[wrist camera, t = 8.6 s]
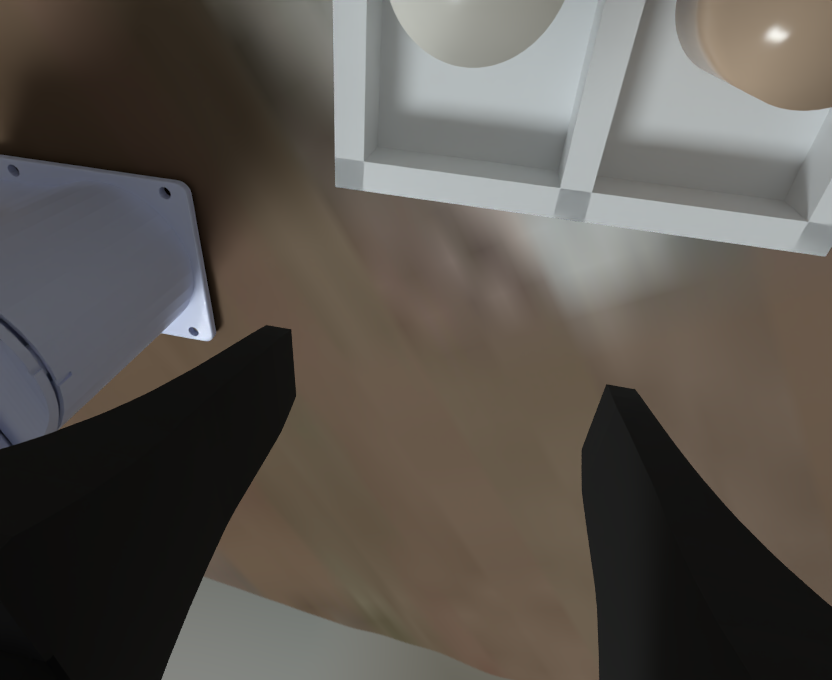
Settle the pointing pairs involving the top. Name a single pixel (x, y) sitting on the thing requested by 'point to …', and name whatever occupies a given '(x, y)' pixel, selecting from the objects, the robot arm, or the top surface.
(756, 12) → the brown egg
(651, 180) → the holder
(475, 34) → the cream egg
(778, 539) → the top surface
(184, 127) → the top surface
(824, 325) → the top surface
